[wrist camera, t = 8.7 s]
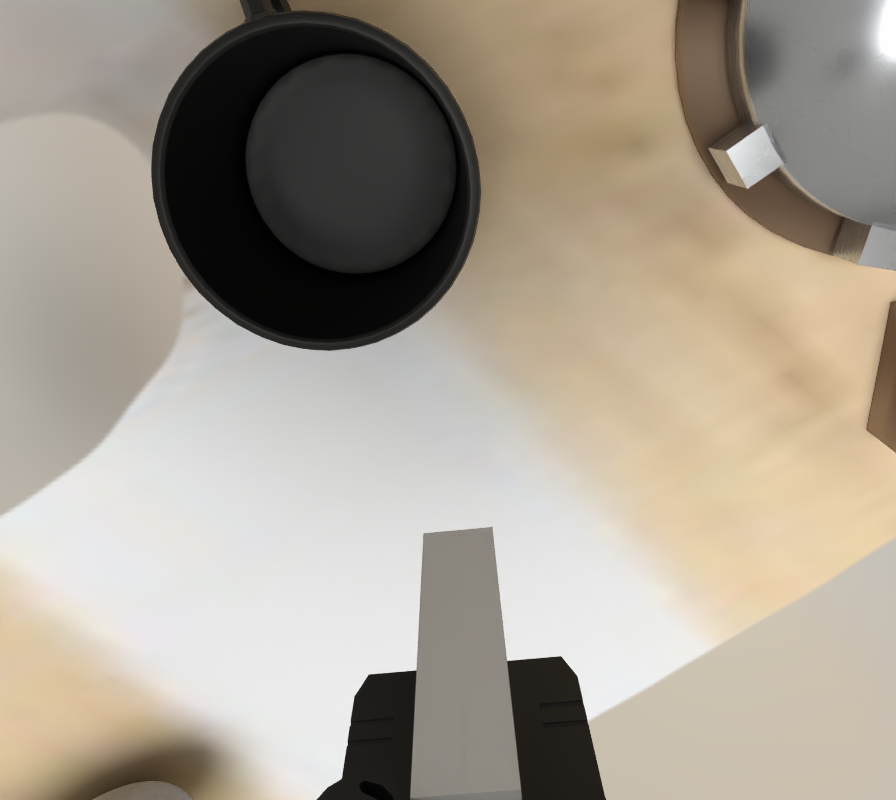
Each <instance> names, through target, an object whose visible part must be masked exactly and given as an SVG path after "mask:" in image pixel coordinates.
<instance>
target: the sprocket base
mask: <svg viewBox="0 0 896 800" xmlns="http://www.w3.org/2000/svg"><path fill="white" fill-rule="evenodd" d="M730 1H731V0H679V5H678V13H677V21H676V67H677V76H678V85H679V93H680V97H681V101H682V105H683V109H684V113H685V117H686V121H687V124H688V127H689V129H690V132H691V134H692V137H693V139H694V142H695V145H696V147H697V150H698V152H699V153H700V155H701V157H702V159H703V160H704V162H705V164H706V166H707V167H708V169H709V171H710V173H711V174H712V176H713V177H714V179H715V180H716V181H717V182H718V184H719V185H720V186H721V188H722V189H723V190H724V191H725V193H726V194H727V195H728V197H729V198H730V199H731V200H732V201H733V202H735V203H736V204H737V205H738V206H739V207H740V208H741V209H742V210H743V211H744V212H745V213H746V214H747V215H748V216H749V217H751V218H752V219H754V220H755V221H757V222H758V223H760V224H761V225H763V226H764V227H765V228H767V229H768V230H770V231H771V232H773V233H775V234H777V235H780V236H782V237H784V238H786V239H788V240H790V241H792V242H794V243H796V244H799V245H801V246H803V247H807V248H810V249H813V250H816V251H819V252H822V253H826V254H829V255H832V253H833V250H834V247H835V244H836V241H837V238H838V236H839V233H840V230H841V227H842V224H843V221H844V218H843V217H840V216H837V215H835V214H832V213H830V212H827V211H825V210H822V209H820V208H817V207H816V206H814V205H812V204H811V203H809V202H807V201H806V200H804V199H802V198H800V197H799V196H797V195H796V194H795V193H794V192H793V191H791V190H790V189H789V188H788V187H786V186H785V185H784V184H783V183H782V182H780V181H779V179H778V178H777V177H776V176H775V175H774V174H773V173H772V172H771V173H770V174H768V175H767V176H765V177H764V178H762V179H761V180H760V181H758V182H757V183H755V184H754V185H752V186H751V187H749V188H748V189H747V188H743V187H740V186H736V185H733V184H730V183H728V182H727V181H726V179H725V177H724V175H723V174H722V172H721V170H720V168H719V167H718V165H717V163H716V161H715V160H714V158H713V156H712V154H711V153H710V151H709V149H708V147H709V146H711V145H712V144H714V143H715V142H717V141H718V140H719V139H721V138H722V137H724V136H725V135H726V134H728V133H729V132H731V131H732V130H733V129H735V128H736V127H738V126H739V125H740V124H742V123H741V121H740V118H739V115H738V111H737V108H736V104H735V101H734V98H733V94H732V89H731V83H730V76H729V70H728V57H727V29H728V17H729V6H730ZM834 256H835V255H834Z"/></svg>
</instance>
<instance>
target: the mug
mask: <svg viewBox="0 0 896 800" xmlns="http://www.w3.org/2000/svg"><path fill="white" fill-rule="evenodd" d="M240 3H241V6H242V8H243V11H244V14H245V17H246V19H245V23H243V24H241V25H240V26H238V27H236V28H234V29H232V30H230V31H228V32H226V33H225V34H223V35H222V36H220V37H218V38H217V39H216V40H215V41H213V42H212V43H211V44H209V45H208V46H207V47H206V48H204V49H203V50H202V51H201V52H200V53H199V54H198V55H197V56H196V57H195V58H194V59H193V61H192V62H191V63H190V64H189V65H188V66H187V67H186V69H185V70H184V71H183V73H182V74H181V75H180V77H179V78H178V80H177V82H176V83H175V85H174V86H173V88H172V90H171V91H170V93H169V95H168V97H167V100H166V102H165V105H164V107H163V110H162V112H161V115H160V118H159V121H158V124H157V129H156V133H155V138H154V142H153V150H152V166H151V174H152V187H153V198H154V203H155V207H156V211H157V215H158V219H159V222H160V226H161V229H162V231H163V234H164V236H165V238H166V241H167V244H168V246H169V249H170V250H171V252H172V254H173V256H174V257H175V259H176V261H177V263H178V264H179V266H180V268H181V269H182V271H183V272H184V274H185V275H186V276H187V278H188V279H189V280H190V282H191V283H192V284H193V285H194V287H195V288H196V289H197V290H198V292H199V293H200V294H201V295H202V296H203V297H204V298H205V299H206V300H208V301H209V302H210V303H211V304H212V305H213V306H214V307H215V308H216V309H217V310H219V311H220V312H221V313H222V314H224V315H225V316H226V317H228V318H229V319H231V320H232V321H233V322H235V323H236V324H237V325H239V326H241V327H243V328H245V329H247V330H249V331H251V332H252V333H254V334H256V335H259V336H261V337H263V338H266V339H269V340H271V341H274V342H277V343H280V344H283V345H287V346H292V347H297V348H302V349H310V350H328V351H331V350H341V349H351V348H356V347H361V346H365V345H369V344H373V343H377V342H379V341H381V340H384V339H386V338H388V337H391V336H393V335H395V334H397V333H399V332H401V331H403V330H404V329H406V328H407V327H409V326H411V325H412V324H414V323H415V322H417V321H418V320H420V319H421V318H422V317H423V316H424V315H425V314H426V313H428V312H429V311H430V310H431V309H432V308H433V307H434V306H435V305H436V304H437V303H438V302H439V301H440V300H441V299H442V297H443V296H444V295H445V294H446V292H447V291H448V290H449V289H450V288H451V286H452V285H453V283H454V281H455V280H456V278H457V276H458V275H459V273H460V271H461V270H462V268H463V266H464V264H465V262H466V259H467V257H468V254H469V252H470V249H471V247H472V244H473V241H474V237H475V233H476V228H477V224H478V218H479V211H480V197H481V185H480V173H479V165H478V158H477V154H476V150H475V146H474V142H473V137H472V135H471V132H470V130H469V127H468V125H467V122H466V120H465V117H464V115H463V113H462V111H461V109H460V107H459V105H458V104H457V102H456V100H455V99H454V97H453V95H452V94H451V92H450V90H449V88H448V87H447V86H446V84H445V83H444V82H443V81H442V80H441V78H440V77H439V76H438V75H437V73H436V72H435V71H434V70H433V69H432V68H431V67H430V66H429V64H428V63H427V62H426V61H425V60H423V59H422V58H421V57H420V56H419V55H418V54H417V53H416V52H414V51H413V50H412V49H411V48H410V47H409V46H408V45H406V44H405V43H403V42H401V41H400V40H398V39H397V38H395V37H394V36H392V35H390V34H389V33H387V32H385V31H383V30H381V29H379V28H377V27H375V26H373V25H370V24H368V23H366V22H363V21H361V20H359V19H356V18H351V17H347V16H343V15H339V14H335V13H328V12H318V11H302V10H301V11H291V8H290V6H289V3H288V1H287V0H240Z"/></svg>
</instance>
